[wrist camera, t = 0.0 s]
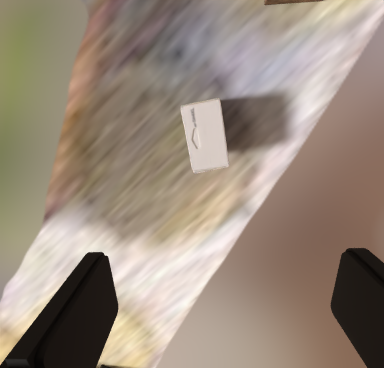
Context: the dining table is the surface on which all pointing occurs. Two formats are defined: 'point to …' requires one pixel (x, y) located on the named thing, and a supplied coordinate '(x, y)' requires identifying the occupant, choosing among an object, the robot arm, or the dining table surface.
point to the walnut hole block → (286, 1)
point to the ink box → (205, 135)
